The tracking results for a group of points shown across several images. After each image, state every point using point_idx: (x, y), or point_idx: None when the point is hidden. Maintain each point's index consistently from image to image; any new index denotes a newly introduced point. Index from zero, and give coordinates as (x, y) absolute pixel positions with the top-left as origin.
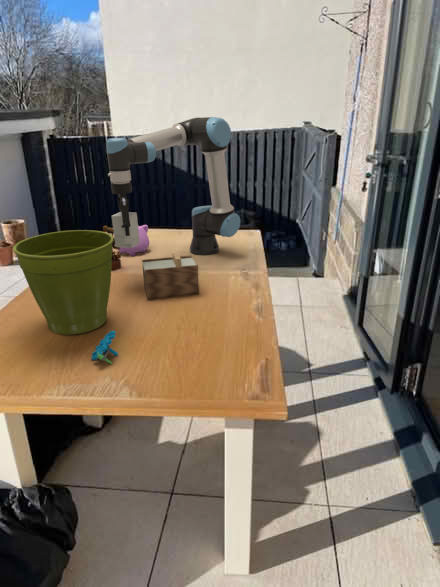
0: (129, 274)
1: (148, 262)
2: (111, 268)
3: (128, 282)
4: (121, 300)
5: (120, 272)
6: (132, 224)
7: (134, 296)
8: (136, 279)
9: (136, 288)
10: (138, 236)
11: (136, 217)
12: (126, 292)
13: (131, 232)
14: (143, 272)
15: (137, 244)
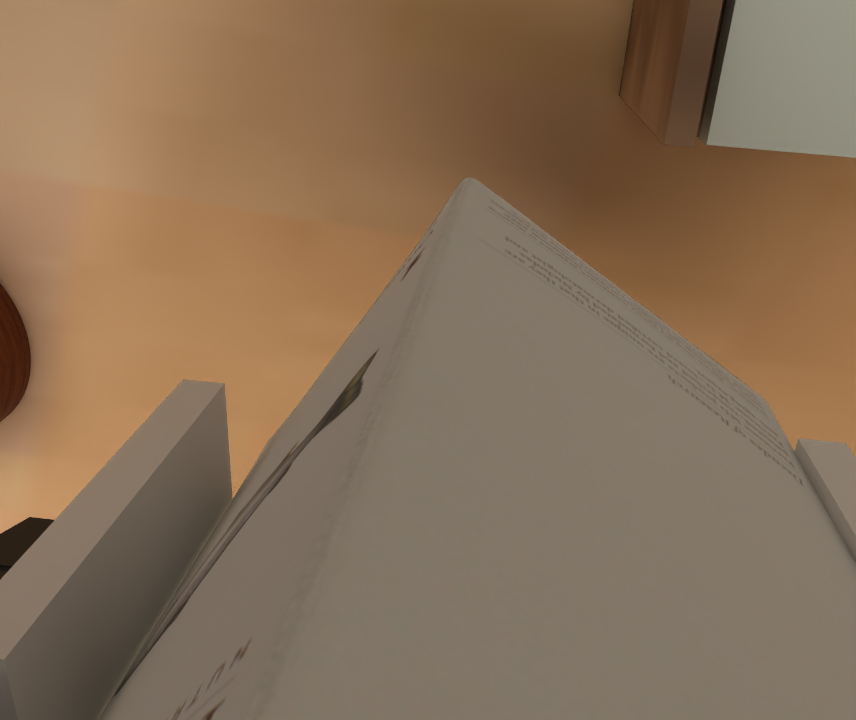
0: (161, 183)
1: (776, 48)
2: (11, 341)
3: (396, 230)
4: (842, 363)
5: (83, 260)
6: (816, 689)
7: (809, 236)
8: (333, 136)
9: (598, 180)
10: (496, 245)
11: (419, 607)
12: (663, 291)
13: (826, 567)
14: None
15: (565, 247)
